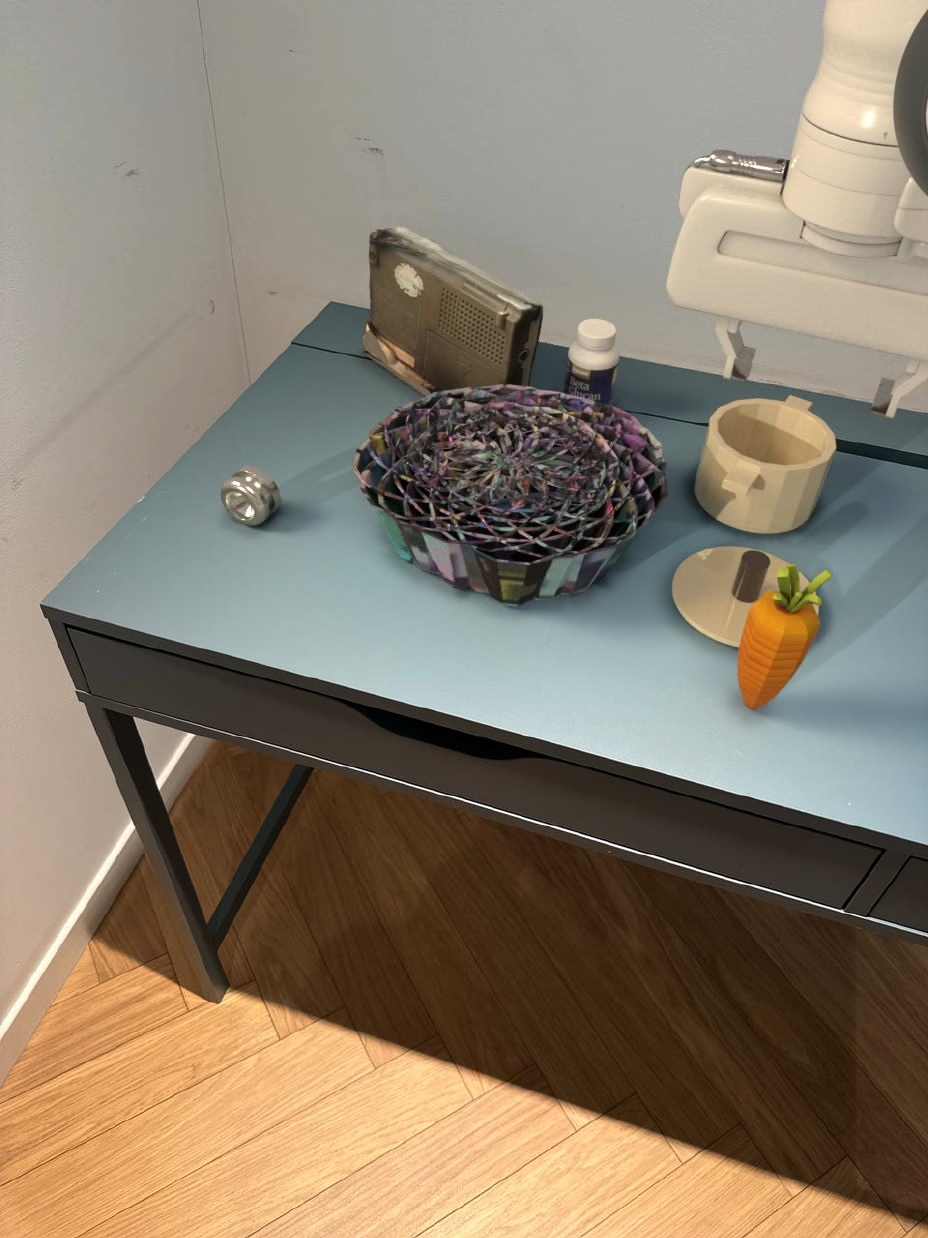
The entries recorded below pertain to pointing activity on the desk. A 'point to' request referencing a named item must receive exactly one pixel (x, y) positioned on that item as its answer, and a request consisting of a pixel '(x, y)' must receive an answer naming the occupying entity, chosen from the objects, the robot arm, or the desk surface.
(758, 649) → the carrot
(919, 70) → the robot arm
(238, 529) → the desk surface
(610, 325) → the pill bottle
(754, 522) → the pot
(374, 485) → the decorative bowl
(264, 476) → the metal grooved wheel
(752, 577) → the pot lid
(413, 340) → the radio
